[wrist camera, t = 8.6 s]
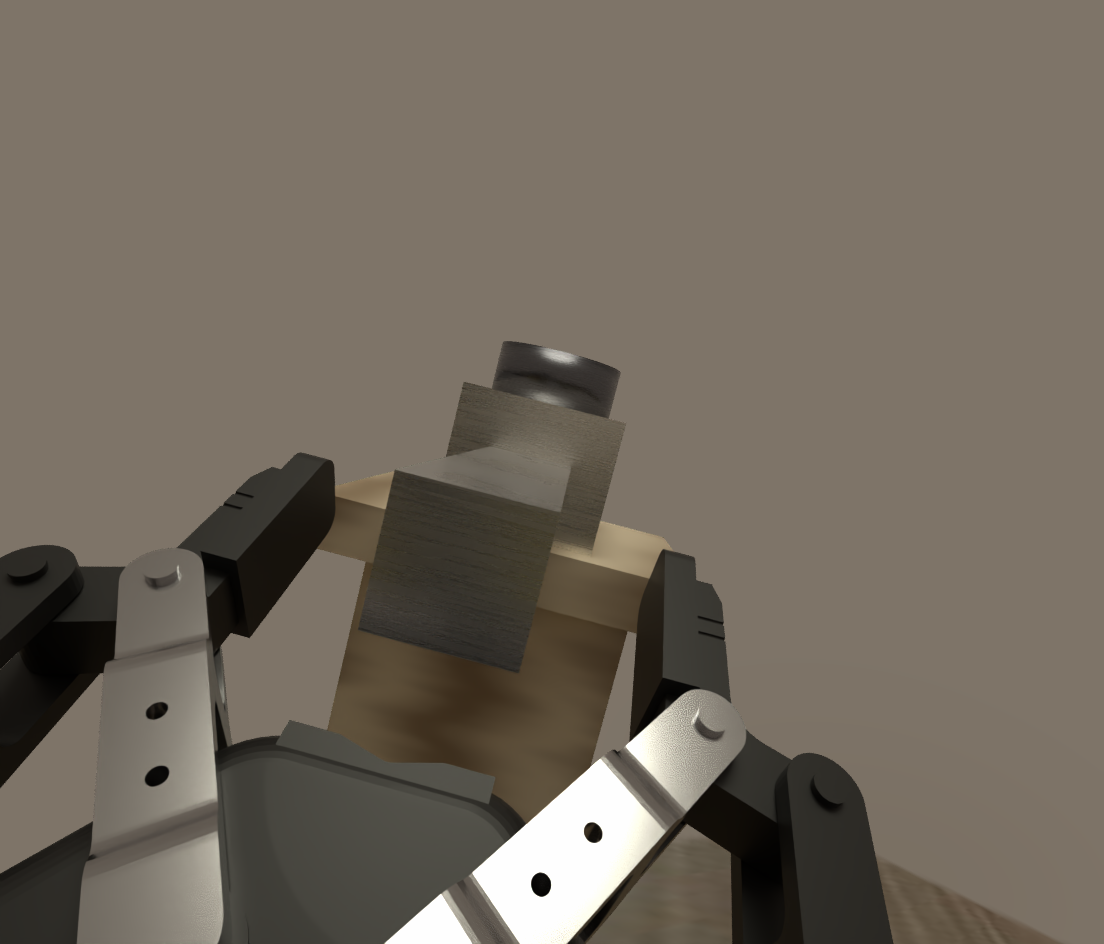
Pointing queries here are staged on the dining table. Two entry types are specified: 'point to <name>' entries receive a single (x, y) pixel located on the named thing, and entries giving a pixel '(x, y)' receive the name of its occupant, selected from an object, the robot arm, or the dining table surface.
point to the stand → (488, 692)
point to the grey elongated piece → (496, 508)
